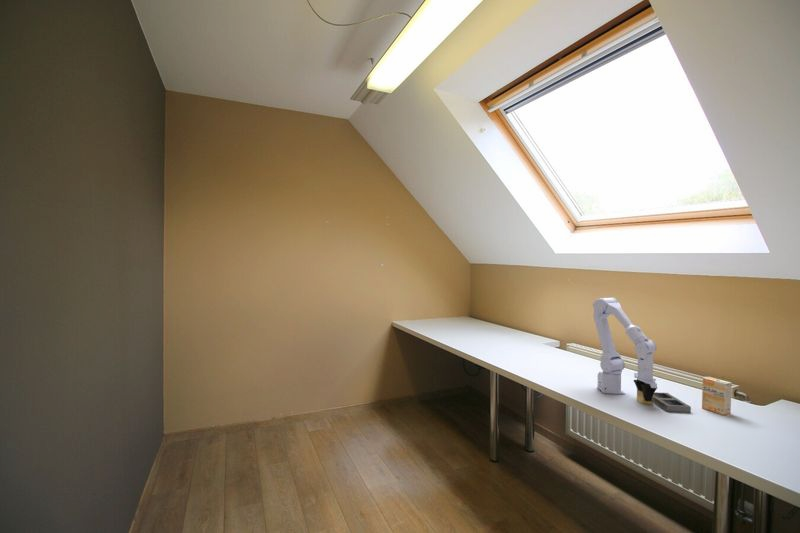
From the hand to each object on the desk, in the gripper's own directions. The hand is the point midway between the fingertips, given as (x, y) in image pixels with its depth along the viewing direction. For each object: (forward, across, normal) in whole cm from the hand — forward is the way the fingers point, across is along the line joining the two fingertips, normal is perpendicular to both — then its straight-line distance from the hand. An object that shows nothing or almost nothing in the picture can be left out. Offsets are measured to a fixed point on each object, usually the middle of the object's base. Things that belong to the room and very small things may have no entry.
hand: (644, 399), depth 165 cm
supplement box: (+2, -7, -24) cm, 25 cm away
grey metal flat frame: (+1, -2, -8) cm, 8 cm away
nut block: (+1, 0, 0) cm, 1 cm away
